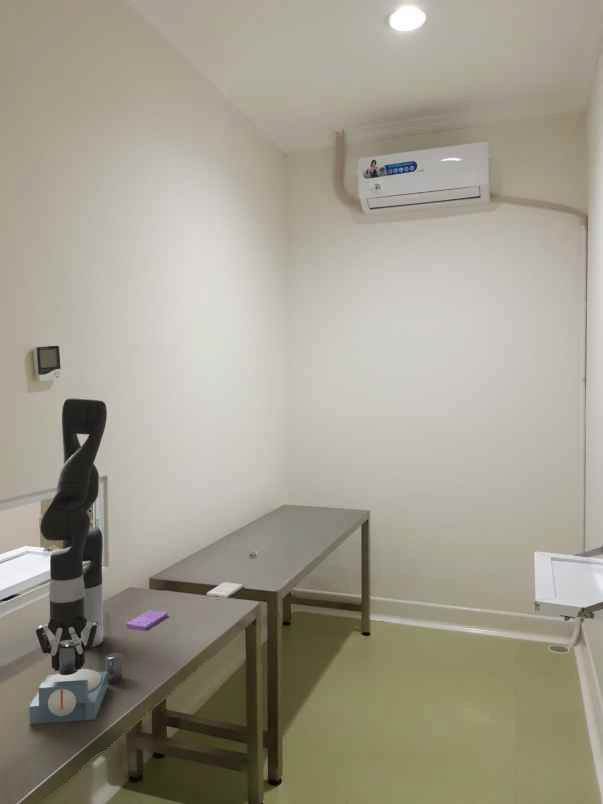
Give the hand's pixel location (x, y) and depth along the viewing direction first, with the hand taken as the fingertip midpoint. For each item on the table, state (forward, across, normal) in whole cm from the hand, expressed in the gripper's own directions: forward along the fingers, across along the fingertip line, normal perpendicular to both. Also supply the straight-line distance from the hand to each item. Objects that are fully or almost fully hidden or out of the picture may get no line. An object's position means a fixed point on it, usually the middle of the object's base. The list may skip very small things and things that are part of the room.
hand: (68, 668), depth 144 cm
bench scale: (+10, 0, -2) cm, 10 cm away
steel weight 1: (0, 0, 0) cm, 0 cm away
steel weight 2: (+10, -8, -14) cm, 18 cm away
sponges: (+10, -12, -52) cm, 54 cm away
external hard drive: (+10, -36, -78) cm, 87 cm away
